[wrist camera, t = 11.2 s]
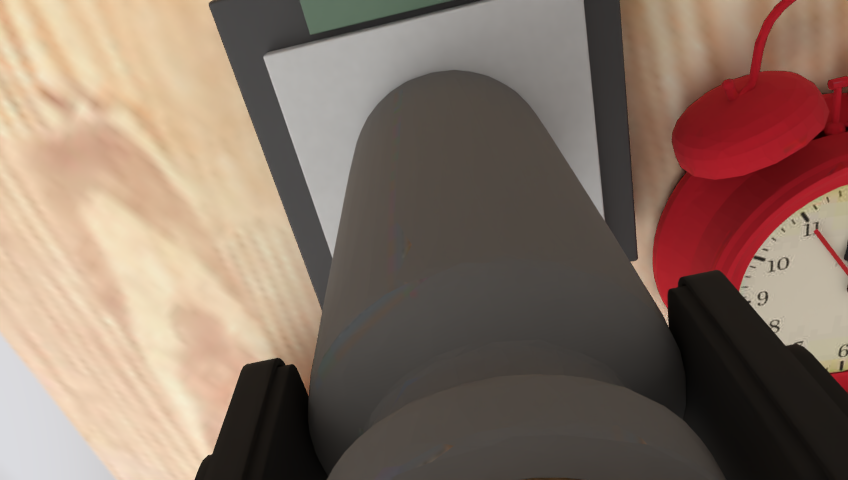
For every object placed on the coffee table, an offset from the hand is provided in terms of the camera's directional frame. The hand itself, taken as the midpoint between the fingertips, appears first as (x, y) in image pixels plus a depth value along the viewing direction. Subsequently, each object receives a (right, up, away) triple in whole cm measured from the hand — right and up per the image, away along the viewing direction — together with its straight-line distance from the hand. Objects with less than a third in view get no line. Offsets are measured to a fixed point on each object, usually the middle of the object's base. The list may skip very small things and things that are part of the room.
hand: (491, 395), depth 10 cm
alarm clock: (+12, +4, +12) cm, 18 cm away
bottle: (0, +5, +9) cm, 10 cm away
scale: (0, +6, +11) cm, 12 cm away
